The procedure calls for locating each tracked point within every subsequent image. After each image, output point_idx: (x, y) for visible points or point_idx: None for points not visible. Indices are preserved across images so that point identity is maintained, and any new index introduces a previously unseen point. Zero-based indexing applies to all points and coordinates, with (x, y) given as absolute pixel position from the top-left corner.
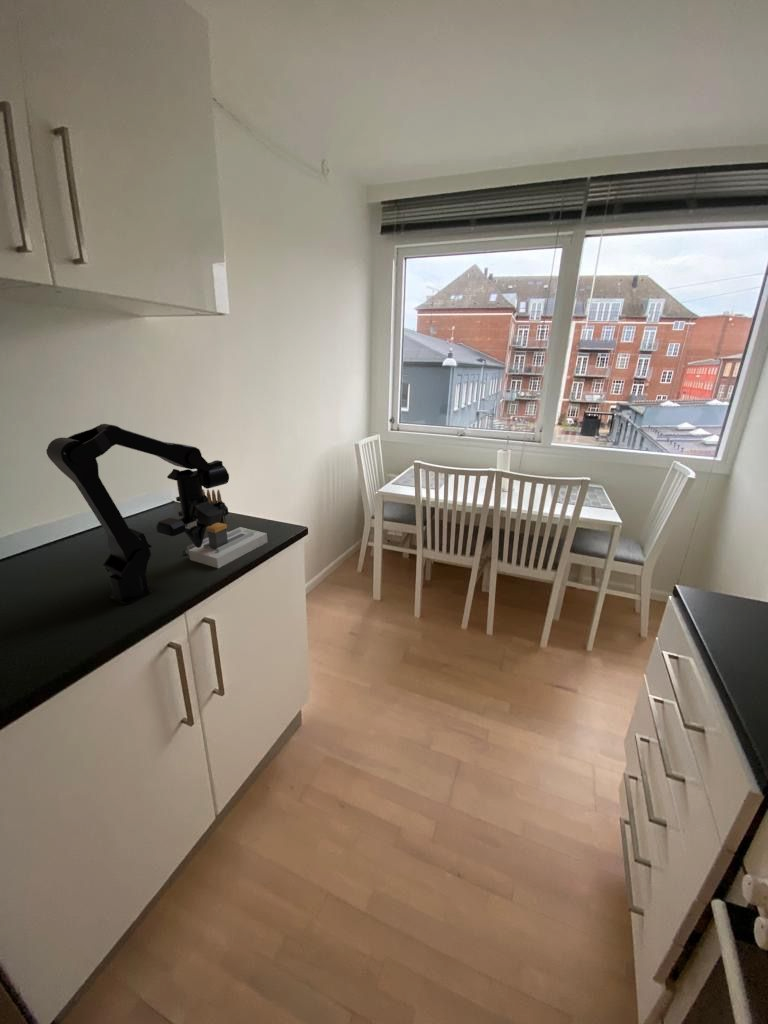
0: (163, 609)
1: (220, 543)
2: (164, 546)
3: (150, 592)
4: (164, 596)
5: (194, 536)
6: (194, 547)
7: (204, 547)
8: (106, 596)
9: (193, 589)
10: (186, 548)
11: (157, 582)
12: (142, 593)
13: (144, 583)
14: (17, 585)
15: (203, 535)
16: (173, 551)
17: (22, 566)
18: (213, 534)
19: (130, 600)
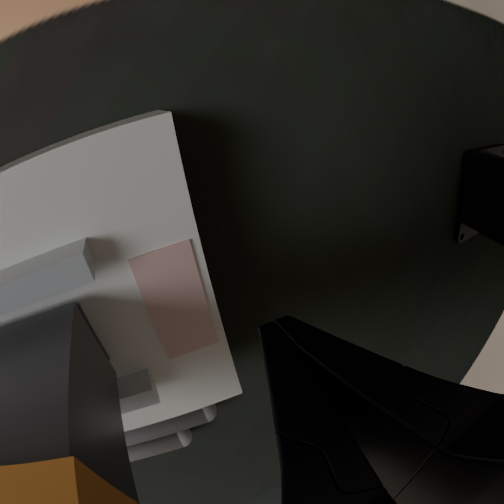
0: (480, 25)
1: (31, 338)
2: (227, 469)
3: (468, 151)
4: (458, 87)
5: (437, 385)
6: (161, 430)
7: (152, 380)
8: (486, 237)
9: (391, 19)
10: (191, 436)
11: (420, 215)
12: (482, 159)
13: (493, 184)
14: (462, 374)
15: (288, 429)
16: (226, 438)
17: None
18: (90, 449)
19: (500, 151)
